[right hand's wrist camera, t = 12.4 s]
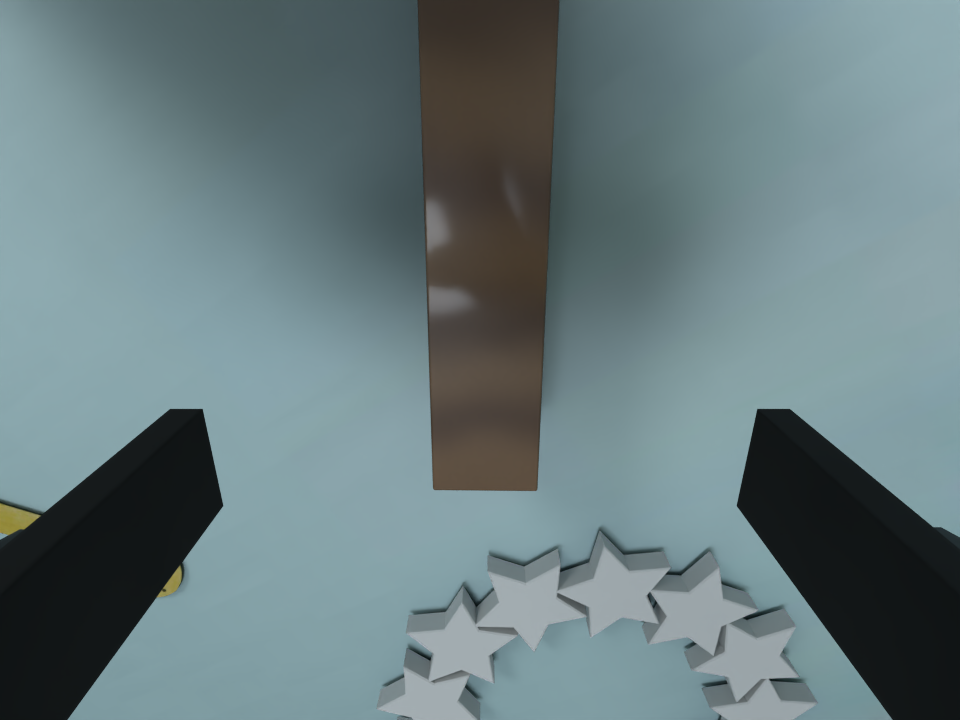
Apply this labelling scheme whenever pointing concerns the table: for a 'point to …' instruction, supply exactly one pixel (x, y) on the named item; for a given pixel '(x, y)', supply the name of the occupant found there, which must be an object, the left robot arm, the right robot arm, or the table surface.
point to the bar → (486, 232)
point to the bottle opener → (14, 519)
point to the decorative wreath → (607, 596)
